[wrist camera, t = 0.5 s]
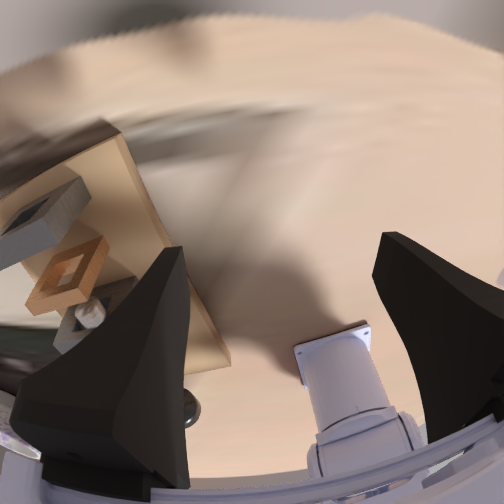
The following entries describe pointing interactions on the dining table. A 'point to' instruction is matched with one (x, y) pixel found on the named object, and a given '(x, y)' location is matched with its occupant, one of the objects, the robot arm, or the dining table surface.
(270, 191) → the dining table surface
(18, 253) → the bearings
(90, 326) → the shaft
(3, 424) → the paper bowls
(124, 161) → the base board
